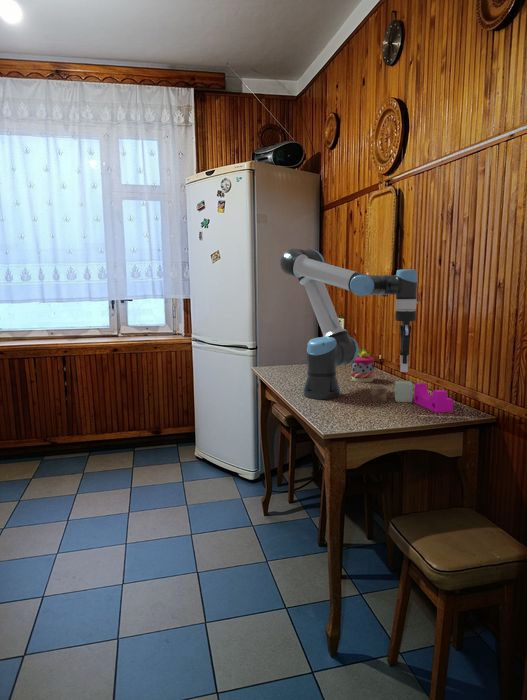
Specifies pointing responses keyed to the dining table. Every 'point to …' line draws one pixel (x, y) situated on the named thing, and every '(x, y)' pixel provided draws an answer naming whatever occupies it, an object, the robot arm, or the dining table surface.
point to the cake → (362, 367)
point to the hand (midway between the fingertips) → (404, 371)
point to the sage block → (403, 391)
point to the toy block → (432, 399)
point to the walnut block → (378, 393)
